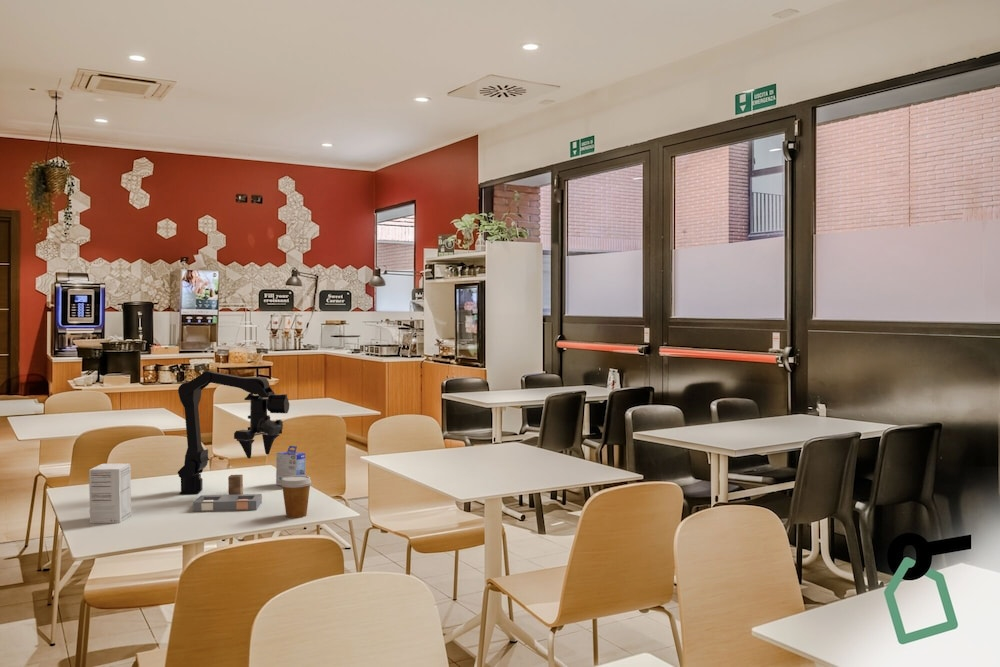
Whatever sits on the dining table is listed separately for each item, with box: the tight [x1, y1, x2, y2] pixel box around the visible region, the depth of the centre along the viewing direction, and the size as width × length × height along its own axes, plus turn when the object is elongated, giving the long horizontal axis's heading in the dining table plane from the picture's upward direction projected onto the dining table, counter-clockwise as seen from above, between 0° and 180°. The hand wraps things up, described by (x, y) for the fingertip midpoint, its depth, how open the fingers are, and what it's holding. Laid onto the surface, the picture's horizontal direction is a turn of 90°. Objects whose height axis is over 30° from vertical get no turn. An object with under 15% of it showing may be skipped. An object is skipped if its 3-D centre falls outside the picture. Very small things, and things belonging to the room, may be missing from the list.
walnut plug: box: [227, 474, 244, 495], centre depth 281 cm, size 4×4×8 cm
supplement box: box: [88, 463, 132, 524], centre depth 253 cm, size 10×9×17 cm
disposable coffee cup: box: [281, 475, 312, 519], centre depth 257 cm, size 10×10×12 cm
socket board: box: [192, 493, 263, 512], centre depth 269 cm, size 20×10×3 cm, turn 97°
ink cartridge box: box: [275, 445, 306, 487], centre depth 302 cm, size 10×6×14 cm, turn 66°
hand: (258, 456), depth 289 cm, fingers open, 9 cm apart
